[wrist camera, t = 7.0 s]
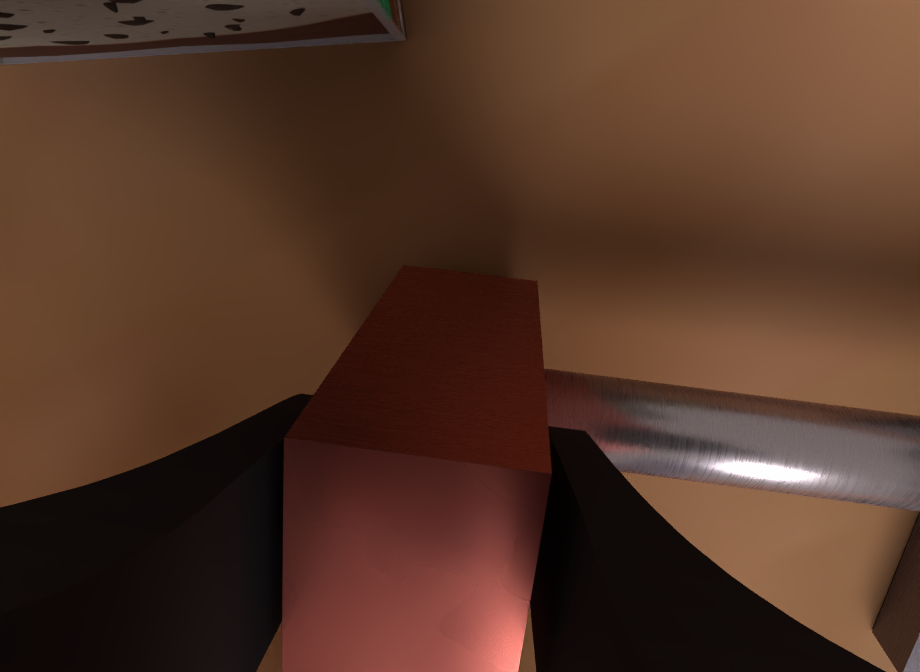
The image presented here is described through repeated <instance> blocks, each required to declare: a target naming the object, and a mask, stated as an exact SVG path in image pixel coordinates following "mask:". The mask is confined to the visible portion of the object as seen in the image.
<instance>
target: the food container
mask: <svg viewBox="0 0 920 672" xmlns="http://www.w3.org/2000/svg"><path fill="white" fill-rule="evenodd" d="M406 40H407V35H406V28H405V21H404V15H403V8H402V1H401V0H0V65H9V64H26V63H42V62H59V61H75V60H92V59H108V58H125V57H142V56H158V55H175V54H191V53H208V52H224V51H241V50H257V49H274V48H290V47H307V46H324V45H340V44H357V43H373V42H390V41H406Z"/></svg>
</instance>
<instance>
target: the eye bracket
mask: <svg viewBox="0 0 920 672" xmlns="http://www.w3.org/2000/svg"><path fill="white" fill-rule="evenodd" d="M872 633H873V634H874V636H875V637H876V639H877V640H878V642H879V643H880V645H881V647H882V648H883V650H884V651H885V653H886V654H887V656H888V657H889V659H890V660H891V662H892V664H893V665H894V667H895V668H896V670H897V671H898V672H920V515H919V517H918V519H917V522H916V524H915V527H914V529H913V532H912V534H911V537H910V539H909V542H908V544H907V547H906V549H905V552H904V554H903V557H902V559H901V562H900V564H899V567H898V569H897V572H896V574H895V577H894V579H893V581H892V584H891V586H890V589H889V591H888V594H887V596H886V599H885V601H884V604H883V606H882V609H881V611H880V614H879V616H878V619H877V621H876V624H875V626H874V629H873V631H872Z"/></svg>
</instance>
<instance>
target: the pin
mask: <svg viewBox="0 0 920 672" xmlns="http://www.w3.org/2000/svg"><path fill="white" fill-rule="evenodd" d="M548 426H553V427H560V428H568V429H576V430H583V431H586V432H587V433H588V434H589V436H590V437H591V438H592V439H593V440H594V441H595V443H596V444H597V445H598V446H599V448H600V449H601V450H602V451H603V452H604V454H605V455H606V456H607V457H608V458H609V460H610V461H611V462H612V463H613V464H614V466H615V467H616V468H617V469H618V470H619V471H620V472H627V473H634V474H642V475H649V476H657V477H664V478H672V479H680V480H687V481H695V482H702V483H710V484H717V485H725V486H732V487H740V488H747V489H755V490H762V491H770V492H777V493H785V494H792V495H800V496H807V497H815V498H822V499H830V500H837V501H845V502H853V503H860V504H868V505H875V506H883V507H890V508H898V509H905V510H913V511H920V416H916V415H909V414H901V413H893V412H885V411H877V410H869V409H861V408H853V407H845V406H837V405H829V404H821V403H814V402H806V401H798V400H790V399H782V398H774V397H766V396H758V395H750V394H742V393H734V392H726V391H718V390H711V389H703V388H695V387H687V386H679V385H671V384H663V383H655V382H647V381H639V380H631V379H623V378H616V377H608V376H600V375H592V374H584V373H576V372H568V371H560V370H552V369H544V364H543V350H542V337H541V324H540V311H539V298H538V285H537V281H532V280H523V279H515V278H507V277H498V276H490V275H482V274H473V273H465V272H457V271H448V270H440V269H432V268H423V267H415V266H407V265H403V267H402V268H401V269H400V271H399V272H398V274H397V275H396V277H395V278H394V280H393V281H392V282H391V284H390V285H389V287H388V288H387V290H386V291H385V293H384V294H383V295H382V297H381V298H380V300H379V301H378V303H377V304H376V306H375V307H374V308H373V310H372V311H371V313H370V314H369V316H368V317H367V319H366V320H365V321H364V323H363V324H362V326H361V327H360V329H359V330H358V332H357V333H356V334H355V336H354V337H353V339H352V340H351V342H350V343H349V345H348V346H347V347H346V349H345V350H344V352H343V353H342V355H341V356H340V358H339V359H338V360H337V362H336V363H335V365H334V366H333V368H332V369H331V371H330V372H329V373H328V375H327V376H326V378H325V379H324V381H323V382H322V384H321V385H320V386H319V388H318V389H317V391H316V392H315V394H314V395H313V397H312V398H311V399H310V401H309V402H308V404H307V405H306V407H305V408H304V410H303V411H302V412H301V414H300V415H299V417H298V418H297V420H296V421H295V423H294V424H293V425H292V427H291V428H290V430H289V431H288V433H287V434H286V436H285V437H284V477H283V593H282V672H518V669H519V663H520V658H521V652H522V646H523V640H524V634H525V628H526V622H527V617H528V611H529V605H530V599H531V593H532V587H533V582H534V576H535V570H536V564H537V558H538V552H539V546H540V541H541V535H542V529H543V523H544V517H545V511H546V505H547V500H548V494H549V488H550V482H551V476H552V468H551V455H550V442H549V429H548Z"/></svg>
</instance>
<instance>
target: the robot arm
mask: <svg viewBox="0 0 920 672" xmlns="http://www.w3.org/2000/svg"><path fill="white" fill-rule="evenodd" d="M312 397H313V395H307V394H298V395H295V396H292V397H290V398H288V399H286V400H284V401H281V402H279V403H277V404H275V405H273V406H271V407H269V408H267V409H265V410H263V411H262V412H260V413H258V414H256V415H254V416H252V417H250V418H248V419H246V420H244V421H242V422H240V423H238V424H236V425H234V426H232V427H230V428H228V429H226V430H224V431H222V432H220V433H218V434H215V435H213V436H211V437H209V438H207V439H204V440H202V441H200V442H198V443H195V444H193V445H191V446H188V447H186V448H184V449H182V450H179V451H177V452H175V453H173V454H170V455H168V456H166V457H164V458H161V459H159V460H156V461H154V462H151V463H149V464H146V465H143V466H141V467H138V468H135V469H133V470H130V471H127V472H124V473H121V474H118V475H115V476H112V477H109V478H106V479H103V480H100V481H97V482H94V483H91V484H88V485H84V486H81V487H77V488H74V489H70V490H66V491H62V492H59V493H55V494H51V495H47V496H44V497H40V498H36V499H32V500H29V501H25V502H21V503H17V504H14V505H9V506H5V507H1V508H0V672H256V671H257V669H258V667H259V665H260V663H261V661H262V659H263V657H264V655H265V653H266V651H267V649H268V647H269V645H270V643H271V641H272V639H273V637H274V635H275V633H276V631H277V629H278V627H279V625H280V623H281V621H282V593H283V477H284V437H285V436H286V434H287V433H288V431H289V430H290V428H291V427H292V425H293V424H294V423H295V421H296V420H297V418H298V417H299V415H300V414H301V412H302V411H303V410H304V408H305V407H306V405H307V404H308V402H309V401H310V399H311V398H312ZM548 429H549V442H550V455H551V468H552V476H551V482H550V488H549V494H548V500H547V505H546V511H545V517H544V523H543V529H542V535H541V541H540V546H539V552H538V558H537V564H536V570H535V576H534V582H533V587H532V593H531V599H530V608H531V619H532V630H533V641H534V651H535V662H536V672H885V671H883V670H882V669H880V668H878V667H876V666H874V665H872V664H871V663H869V662H867V661H865V660H863V659H862V658H860V657H858V656H856V655H854V654H853V653H851V652H849V651H847V650H845V649H844V648H842V647H840V646H838V645H837V644H835V643H833V642H831V641H829V640H828V639H826V638H824V637H823V636H821V635H819V634H818V633H816V632H814V631H813V630H811V629H809V628H808V627H806V626H804V625H803V624H801V623H800V622H798V621H796V620H795V619H793V618H792V617H790V616H789V615H787V614H786V613H784V612H783V611H781V610H780V609H778V608H777V607H775V606H774V605H772V604H771V603H769V602H768V601H766V600H765V599H763V598H762V597H760V596H759V595H757V594H756V593H754V592H753V591H751V590H750V589H748V588H747V587H746V586H744V585H743V584H742V583H740V582H739V581H737V580H736V579H735V578H733V577H732V576H731V575H729V574H728V573H727V572H725V571H724V570H723V569H722V568H720V567H719V566H718V565H717V564H716V563H714V562H713V561H712V560H711V559H709V558H708V557H707V556H706V555H704V554H703V553H702V552H701V551H699V550H698V549H697V548H696V547H694V546H693V545H692V544H691V543H690V542H689V541H688V540H686V539H685V538H684V537H683V536H682V535H681V534H680V533H679V532H678V531H676V530H675V529H674V528H673V527H672V526H671V525H670V524H669V523H668V522H667V521H666V520H665V519H664V518H663V517H662V516H661V515H660V514H659V513H658V512H657V511H656V510H655V509H654V508H653V507H652V506H651V505H650V504H649V503H648V502H647V501H646V500H645V499H644V498H643V497H642V496H641V495H640V494H639V493H638V492H637V491H636V489H635V488H634V487H633V486H632V485H631V484H630V483H629V482H628V481H627V479H626V478H625V477H624V476H623V475H622V474H621V473H620V471H619V470H618V469H617V468H616V467H615V466H614V464H613V463H612V462H611V461H610V460H609V458H608V457H607V456H606V455H605V454H604V452H603V451H602V450H601V449H600V448H599V446H598V445H597V444H596V443H595V441H594V440H593V439H592V438H591V437H590V436H589V434H588V433H587V432H586V431H583V430H576V429H568V428H560V427H553V426H548Z"/></svg>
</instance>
